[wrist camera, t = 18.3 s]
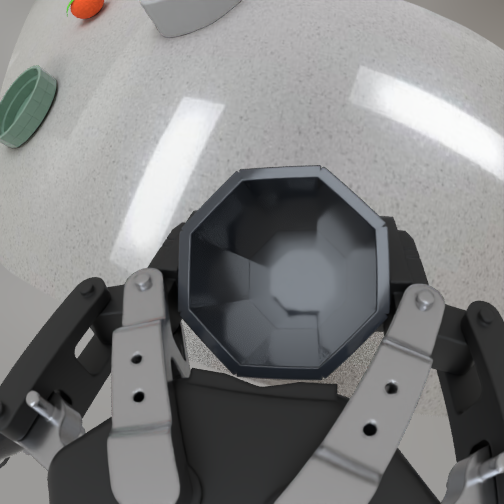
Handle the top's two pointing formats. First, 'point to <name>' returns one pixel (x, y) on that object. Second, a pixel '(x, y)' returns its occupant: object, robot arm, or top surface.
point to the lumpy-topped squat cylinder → (185, 14)
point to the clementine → (85, 8)
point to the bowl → (25, 105)
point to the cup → (284, 273)
